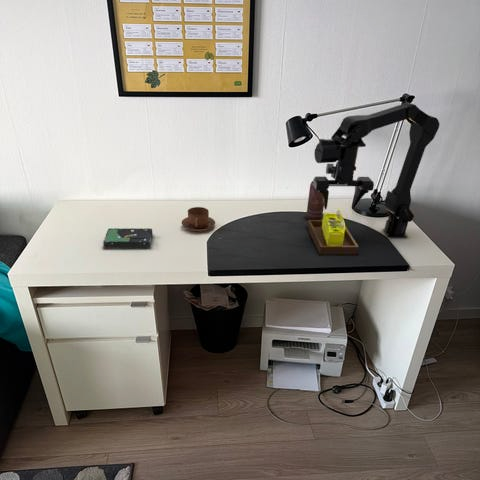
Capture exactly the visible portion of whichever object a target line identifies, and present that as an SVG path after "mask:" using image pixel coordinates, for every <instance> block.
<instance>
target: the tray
mask: <svg viewBox="0 0 480 480" xmlns="http://www.w3.org/2000/svg"><path fill="white" fill-rule="evenodd" d="M343 227H344V226H343ZM306 228H307V230H308V232H309V234H310V238H311V239H312V241H313V243H314V245H315V248H316V249H317V252H318V255H320V256H321V255H323V256H325V255H334V256H335V255H341V256H342V255H345V256H346V255H347V256H348V255H349V256H350V255H352V256H353V255H358V252H359V248H360V247H359V245H358V243H357V242H356V240H355V239H354V237H353V236H352V234H351V232H350V231H349V229H348V228H347V226H346V225H345V234H344V240H343V244H342V246H327V244H326V240H325V239H324V235H323V234H324V233H323V229H322V219H321V220H307V225H306Z"/></svg>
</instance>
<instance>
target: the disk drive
mask: <svg viewBox="0 0 480 480" xmlns="http://www.w3.org/2000/svg"><path fill="white" fill-rule="evenodd" d="M153 233H154V232H153V228H148V227H146V228H145V227H144V228H139V227H138V228H126V227H125V228H122V227H121V228H108V229H107V230H106V233H105V236H104V239H103V248H104V249H150V248H151V244H152V240H153Z"/></svg>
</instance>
